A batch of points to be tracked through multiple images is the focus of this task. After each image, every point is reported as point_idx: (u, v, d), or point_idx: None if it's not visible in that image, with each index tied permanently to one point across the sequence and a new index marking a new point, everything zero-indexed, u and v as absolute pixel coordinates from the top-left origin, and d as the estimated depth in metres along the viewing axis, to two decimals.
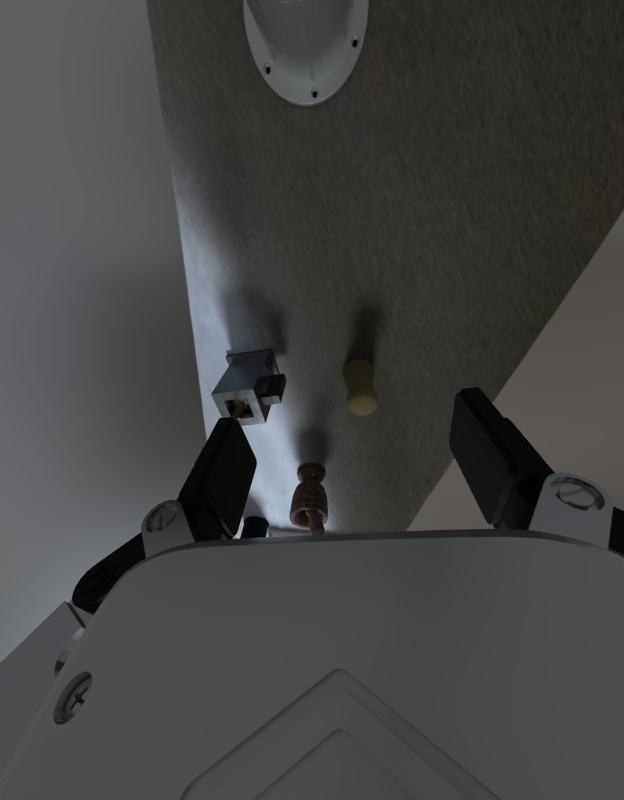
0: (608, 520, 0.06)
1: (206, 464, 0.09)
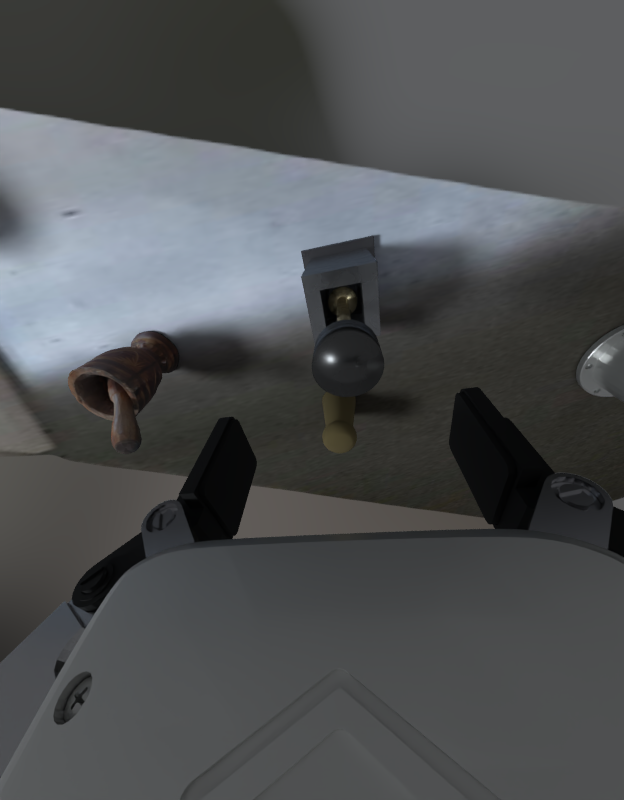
0: (608, 520, 0.06)
1: (206, 464, 0.09)
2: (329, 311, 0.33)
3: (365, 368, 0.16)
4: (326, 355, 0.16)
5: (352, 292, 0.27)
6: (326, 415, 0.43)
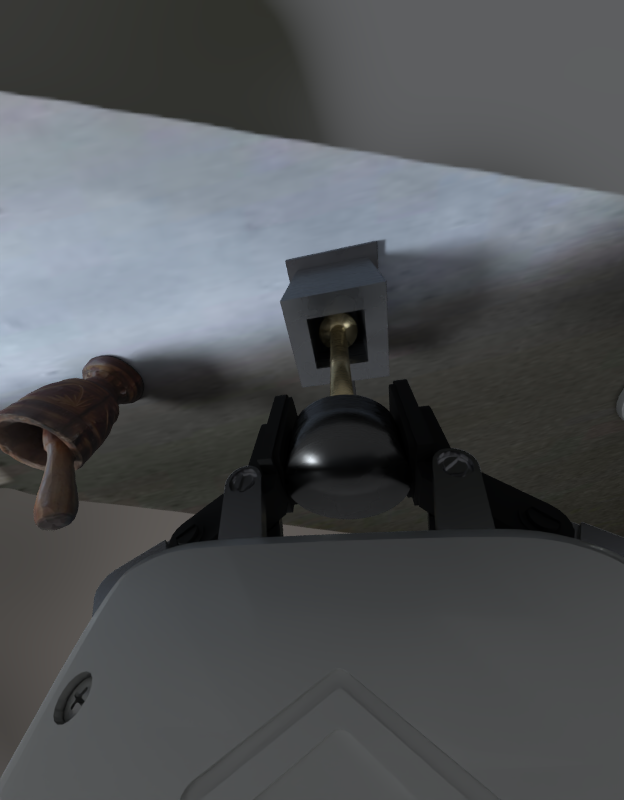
0: (480, 478, 0.07)
1: (275, 434, 0.10)
2: None
3: (379, 485, 0.09)
4: (309, 468, 0.09)
5: (351, 319, 0.20)
6: None
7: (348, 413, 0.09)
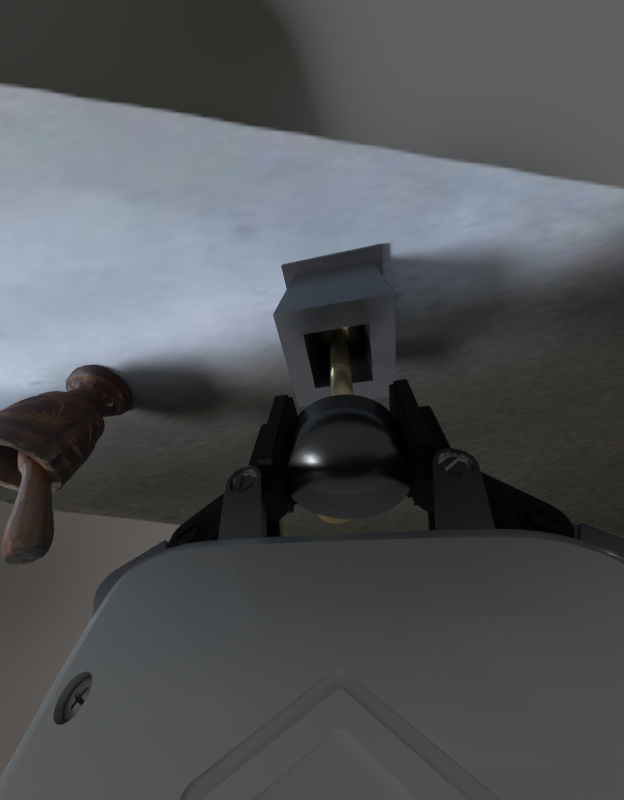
0: (481, 478, 0.07)
1: (275, 434, 0.10)
2: (320, 350, 0.23)
3: (378, 485, 0.09)
4: (309, 468, 0.09)
5: None
6: None
7: (348, 413, 0.09)
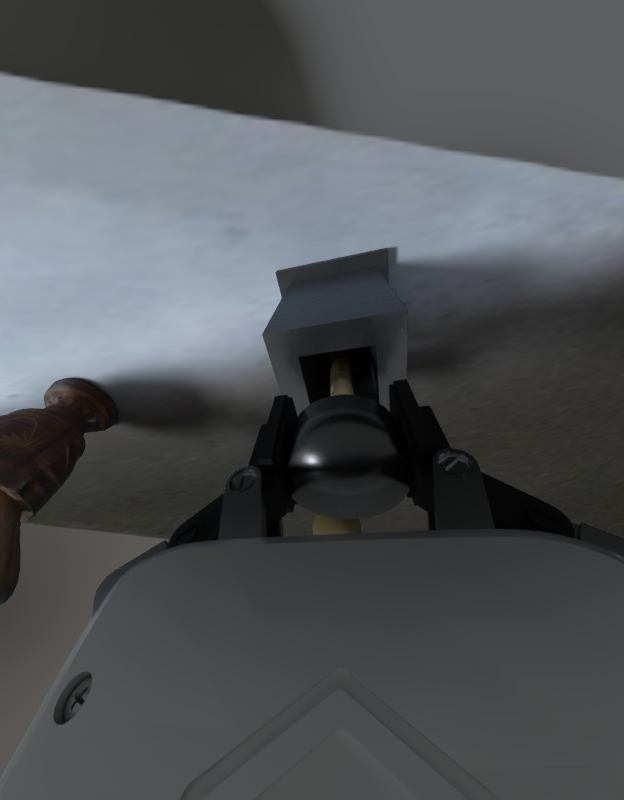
0: (480, 477, 0.07)
1: (275, 434, 0.10)
2: (319, 366, 0.21)
3: (378, 485, 0.09)
4: (309, 468, 0.09)
5: None
6: None
7: (348, 413, 0.09)
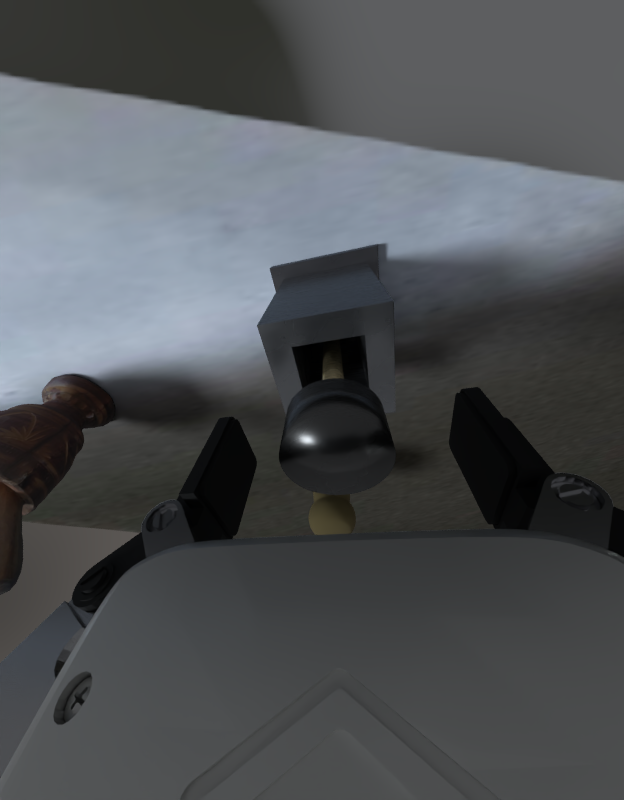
0: (608, 520, 0.06)
1: (206, 464, 0.09)
2: (313, 359, 0.22)
3: (365, 460, 0.10)
4: (301, 445, 0.10)
5: None
6: None
7: (337, 394, 0.10)
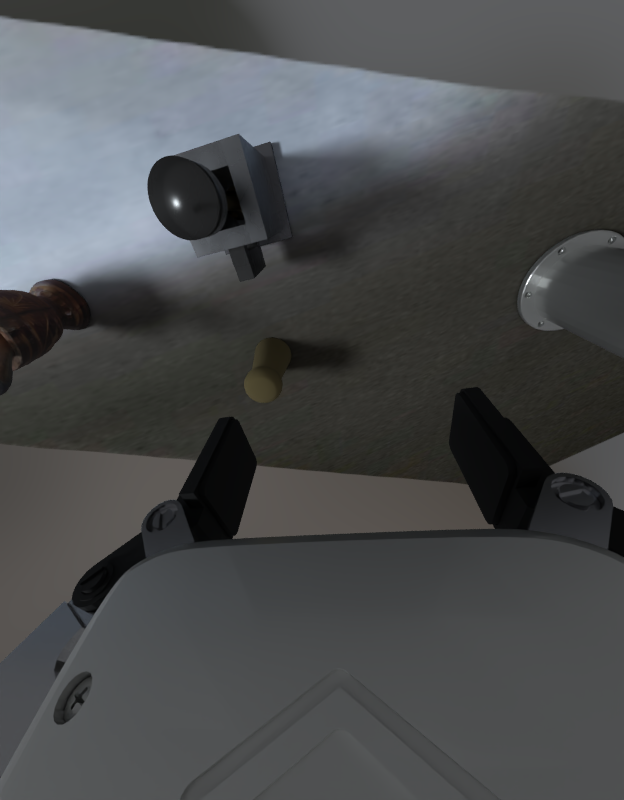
0: (608, 520, 0.06)
1: (206, 464, 0.09)
2: (226, 230, 0.29)
3: (199, 199, 0.17)
4: (159, 186, 0.17)
5: None
6: (253, 365, 0.39)
7: None
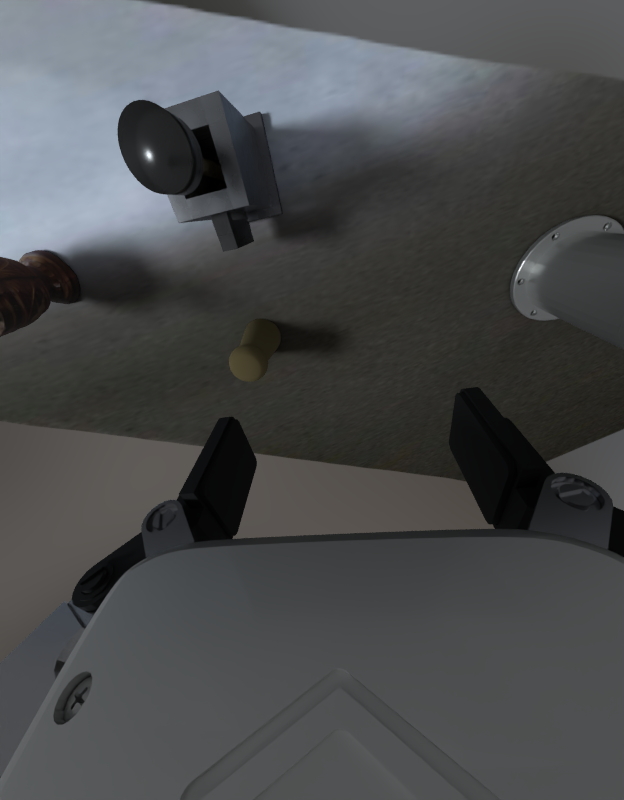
0: (608, 520, 0.06)
1: (206, 464, 0.09)
2: None
3: (170, 149, 0.17)
4: (129, 134, 0.17)
5: None
6: (240, 344, 0.39)
7: None
